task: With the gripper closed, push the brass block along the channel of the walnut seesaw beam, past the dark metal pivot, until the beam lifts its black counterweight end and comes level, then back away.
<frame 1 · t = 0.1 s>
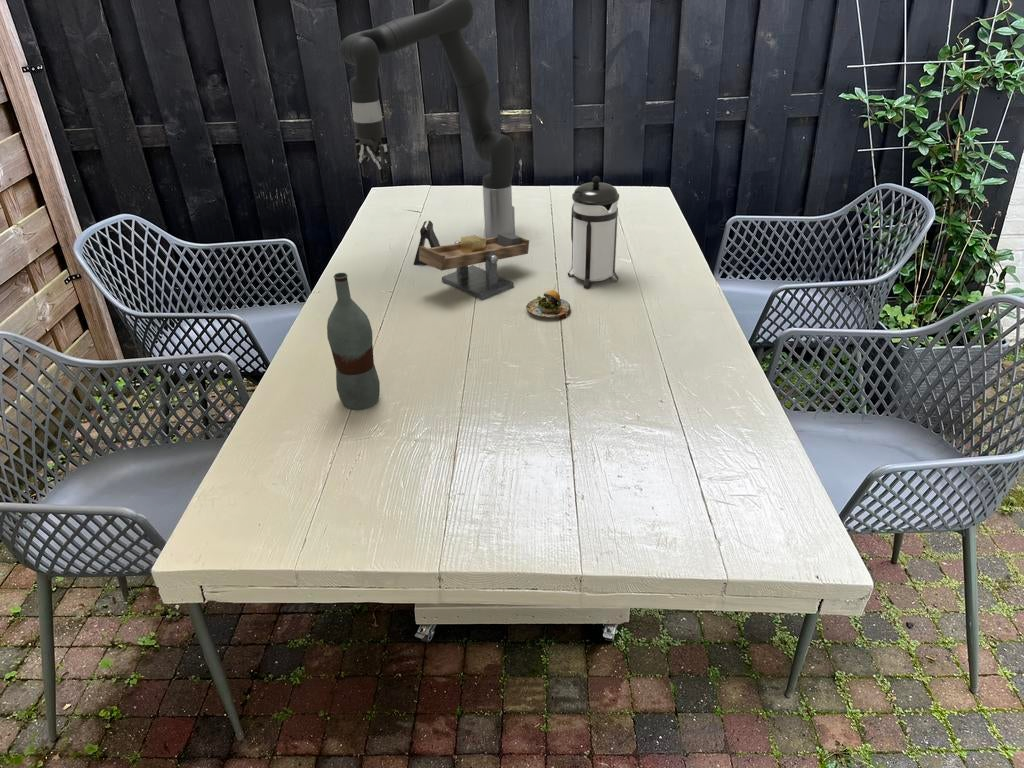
hand: (375, 179, 206), 29 cm above the table, tool pointing down, fingers open, 8 cm apart
bottle: (360, 401, 164), on the table
brass block: (472, 252, 209), point 10 cm above the table, tilted 8°, touching beam
counterweight: (508, 245, 217), point 8 cm above the table, tilted 8°, touching beam
beam: (475, 250, 209), point 10 cm above the table, hinge at -8.3°, touching brass block, counterweight
pivot stand: (477, 284, 215), on the table
phone stand: (429, 261, 230), on the table
burger: (548, 313, 199), on the table
coffee press: (589, 278, 217), on the table
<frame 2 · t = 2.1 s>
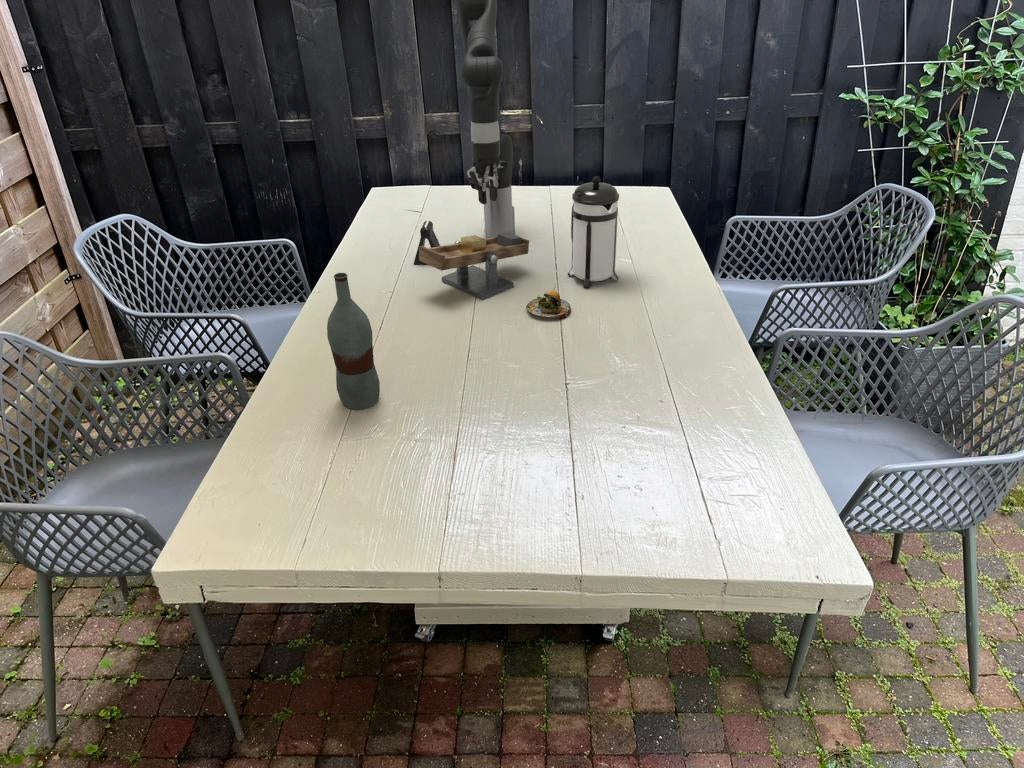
hand: (488, 201, 205), 23 cm above the table, tool pointing down, fingers open, 3 cm apart
nothing on the table moved.
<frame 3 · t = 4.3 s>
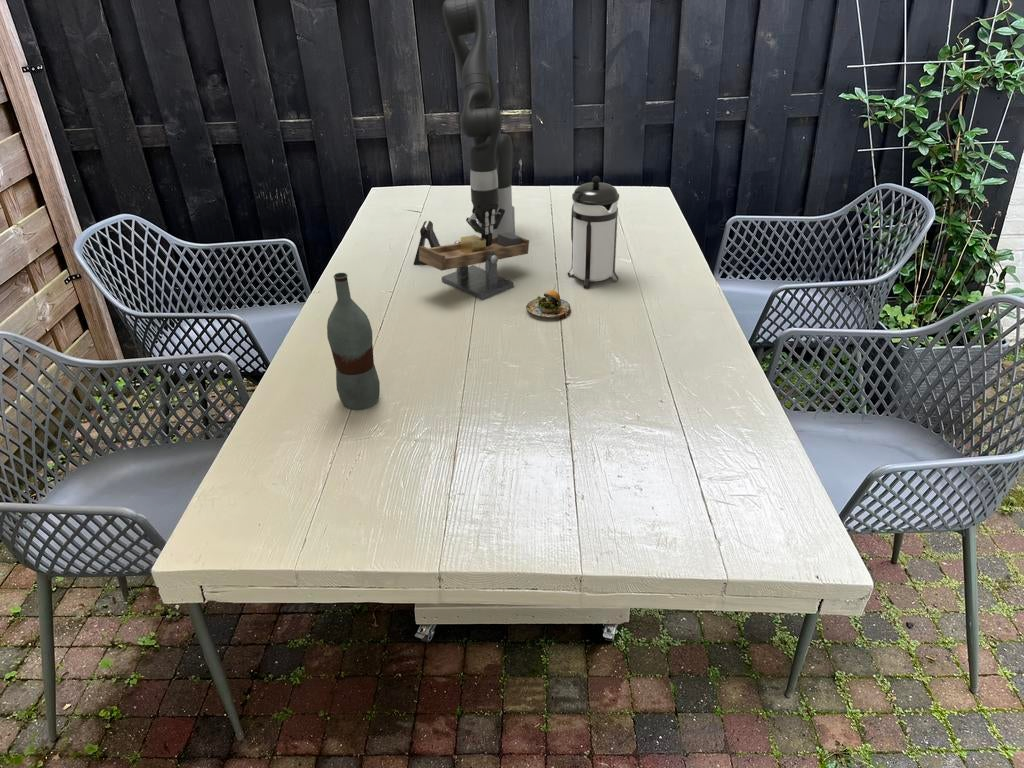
hand: (487, 245, 211), 11 cm above the table, tool pointing down, fingers closed
brass block: (472, 252, 209), point 10 cm above the table, tilted 8°, touching beam, gripper
everything else where it was.
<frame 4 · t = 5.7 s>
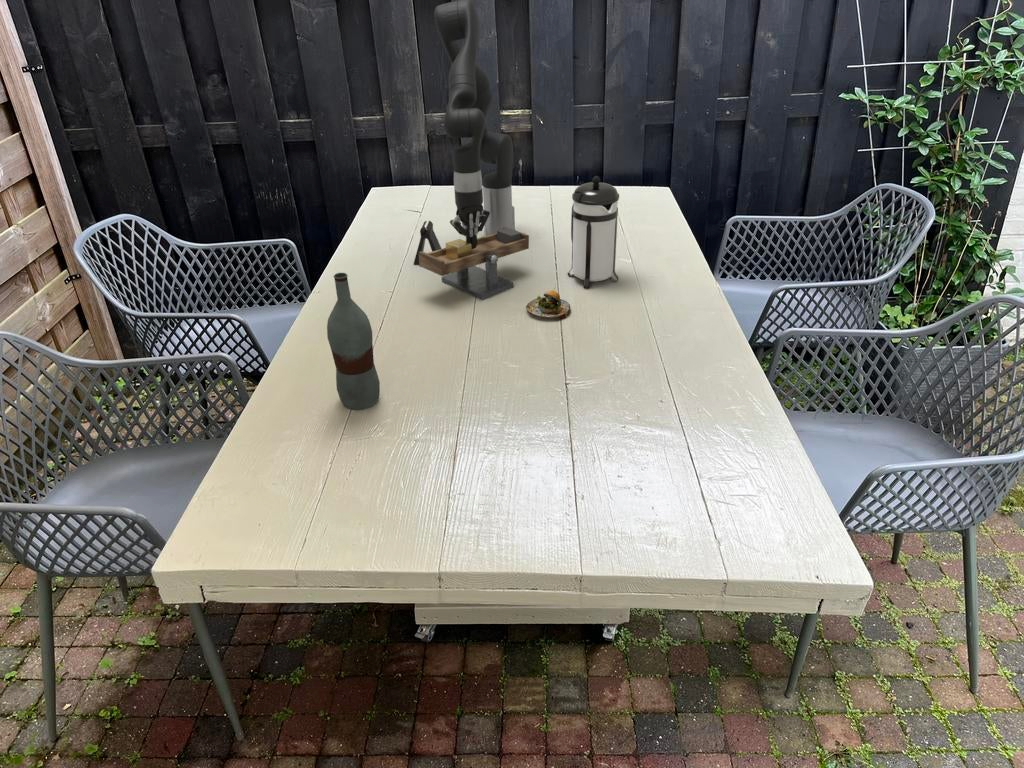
hand: (471, 247, 208), 12 cm above the table, tool pointing down, fingers closed
brass block: (458, 257, 206), point 10 cm above the table, touching beam, gripper
counterweight: (509, 241, 217), point 9 cm above the table, touching beam
beam: (475, 250, 209), point 10 cm above the table, hinge at -2.7°, touching brass block, counterweight
everything else where it was.
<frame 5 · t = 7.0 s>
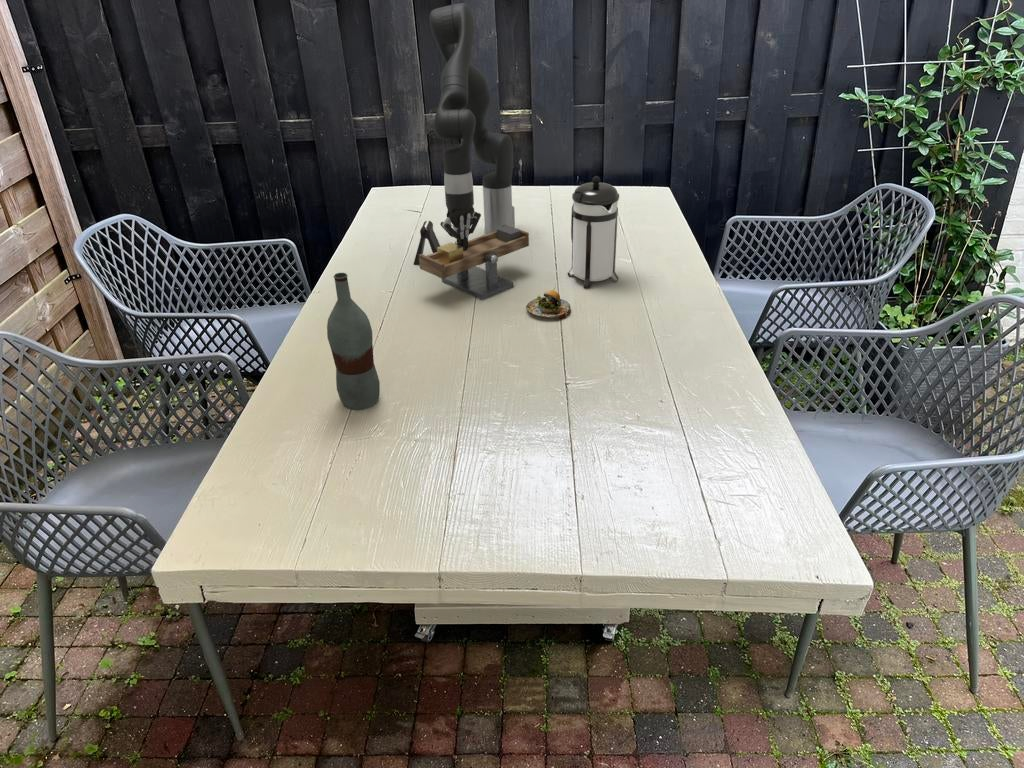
hand: (462, 250, 206), 12 cm above the table, tool pointing down, fingers closed
brass block: (451, 261, 204), point 10 cm above the table, touching beam, gripper
beam: (475, 250, 209), point 10 cm above the table, hinge at 0.2°, touching brass block, counterweight
everything else where it was.
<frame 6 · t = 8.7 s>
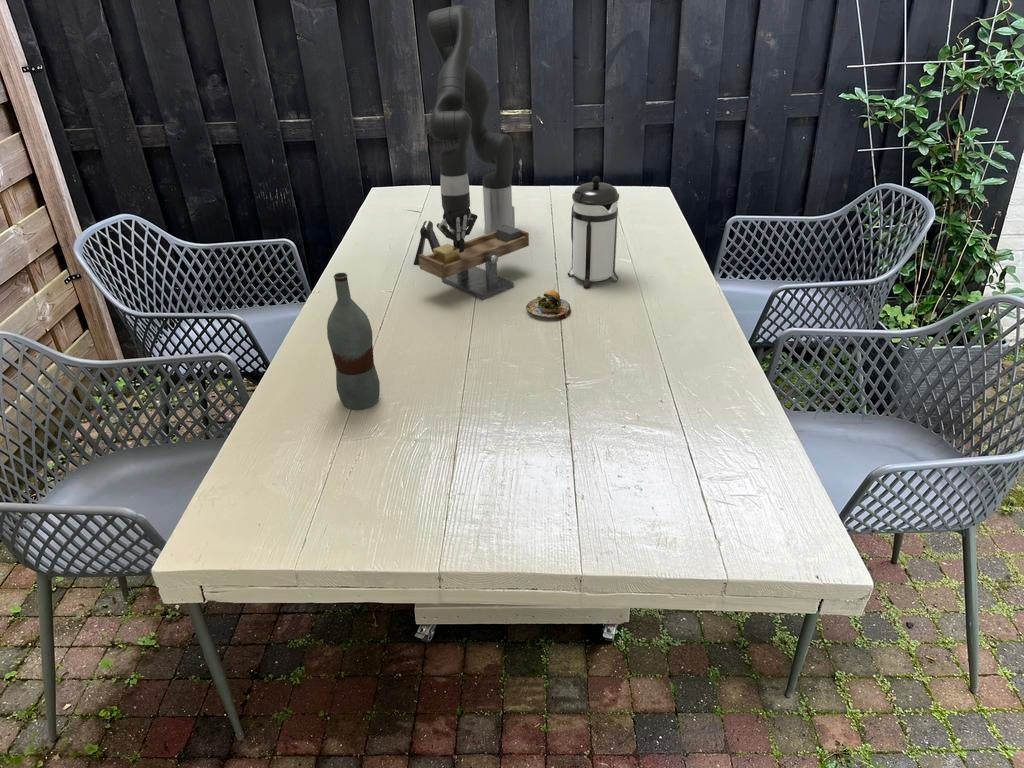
hand: (459, 251, 205), 12 cm above the table, tool pointing down, fingers closed
brass block: (447, 262, 203), point 10 cm above the table, touching beam
everything else where it was.
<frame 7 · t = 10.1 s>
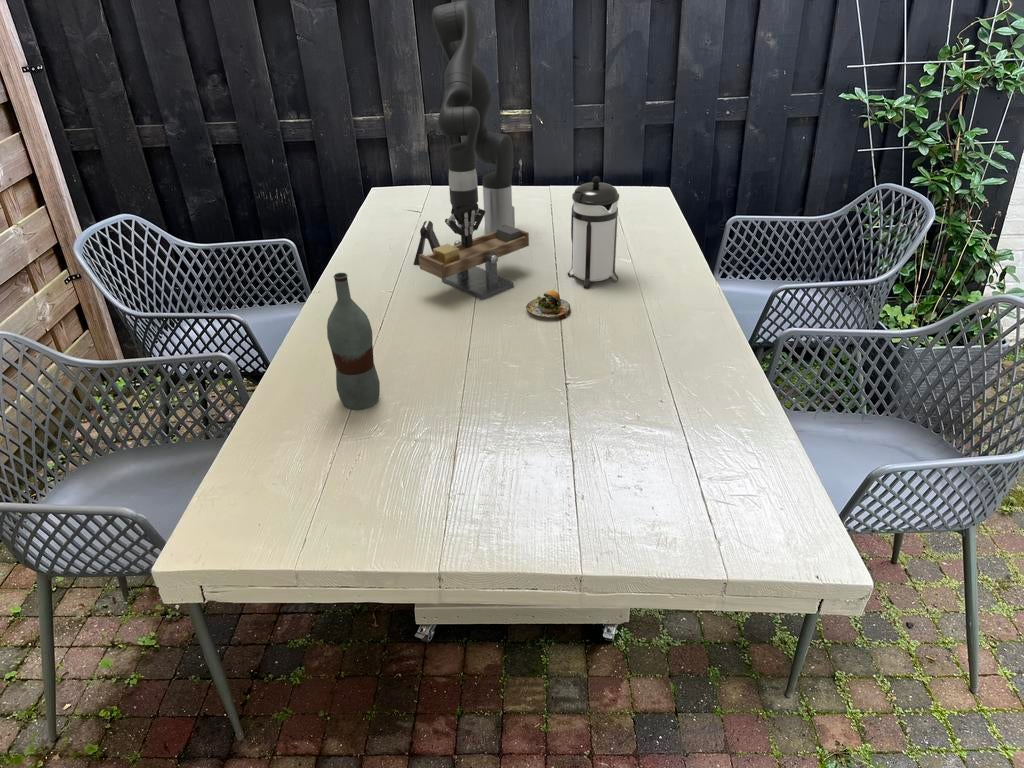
hand: (467, 246, 206), 12 cm above the table, tool pointing down, fingers closed
nothing on the table moved.
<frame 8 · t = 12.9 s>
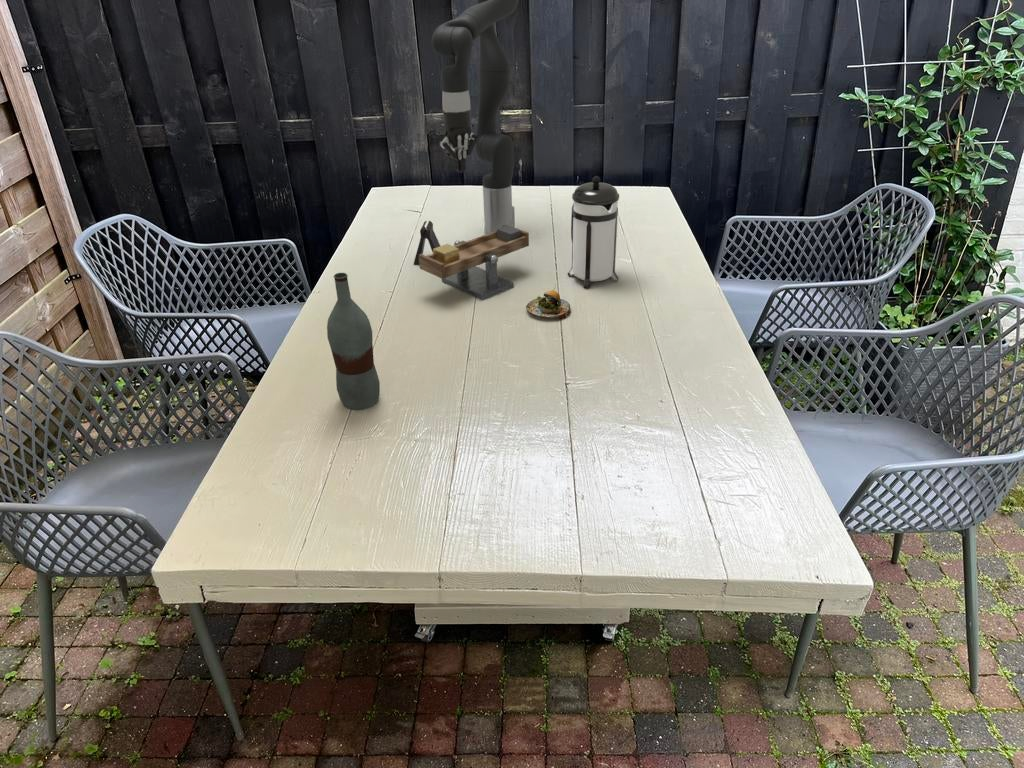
hand: (460, 171, 210), 29 cm above the table, tool pointing down, fingers closed
nothing on the table moved.
at the end: beam at +0° (first picture: -8°); brass block inside the target area on the beam (0.4 cm from its centre), point 0.0 cm above the beam's base; brass block tilted 0° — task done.
